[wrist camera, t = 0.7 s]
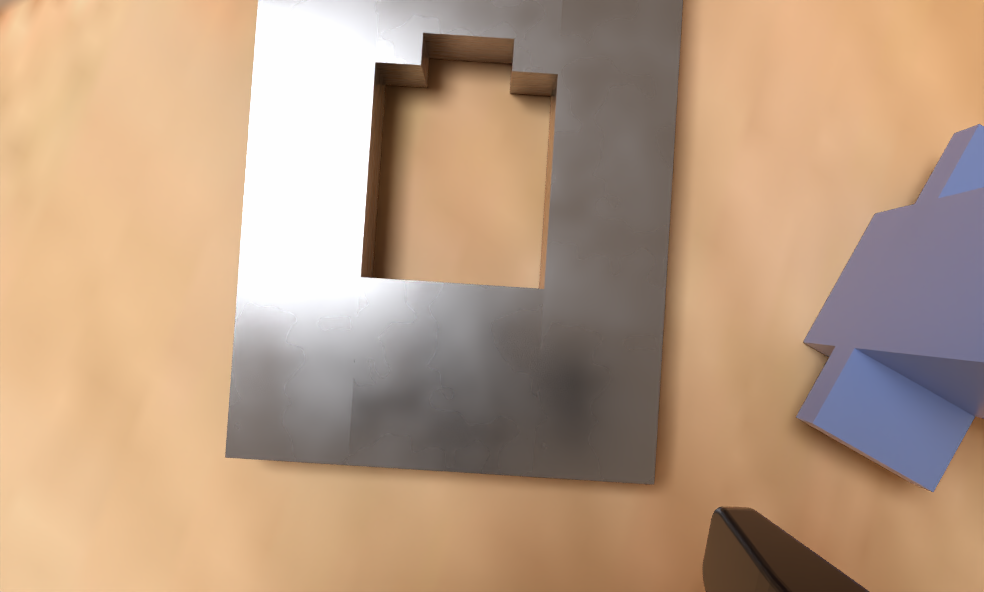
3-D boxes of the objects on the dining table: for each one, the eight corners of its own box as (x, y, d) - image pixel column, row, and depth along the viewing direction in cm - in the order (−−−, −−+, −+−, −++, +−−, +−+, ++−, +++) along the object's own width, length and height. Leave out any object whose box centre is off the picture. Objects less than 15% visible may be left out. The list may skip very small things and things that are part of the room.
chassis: (638, 467, 21) (654, 484, 19) (250, 443, 21) (225, 457, 19) (670, -63, 22) (688, -102, 20) (288, -90, 21) (267, -130, 19)
